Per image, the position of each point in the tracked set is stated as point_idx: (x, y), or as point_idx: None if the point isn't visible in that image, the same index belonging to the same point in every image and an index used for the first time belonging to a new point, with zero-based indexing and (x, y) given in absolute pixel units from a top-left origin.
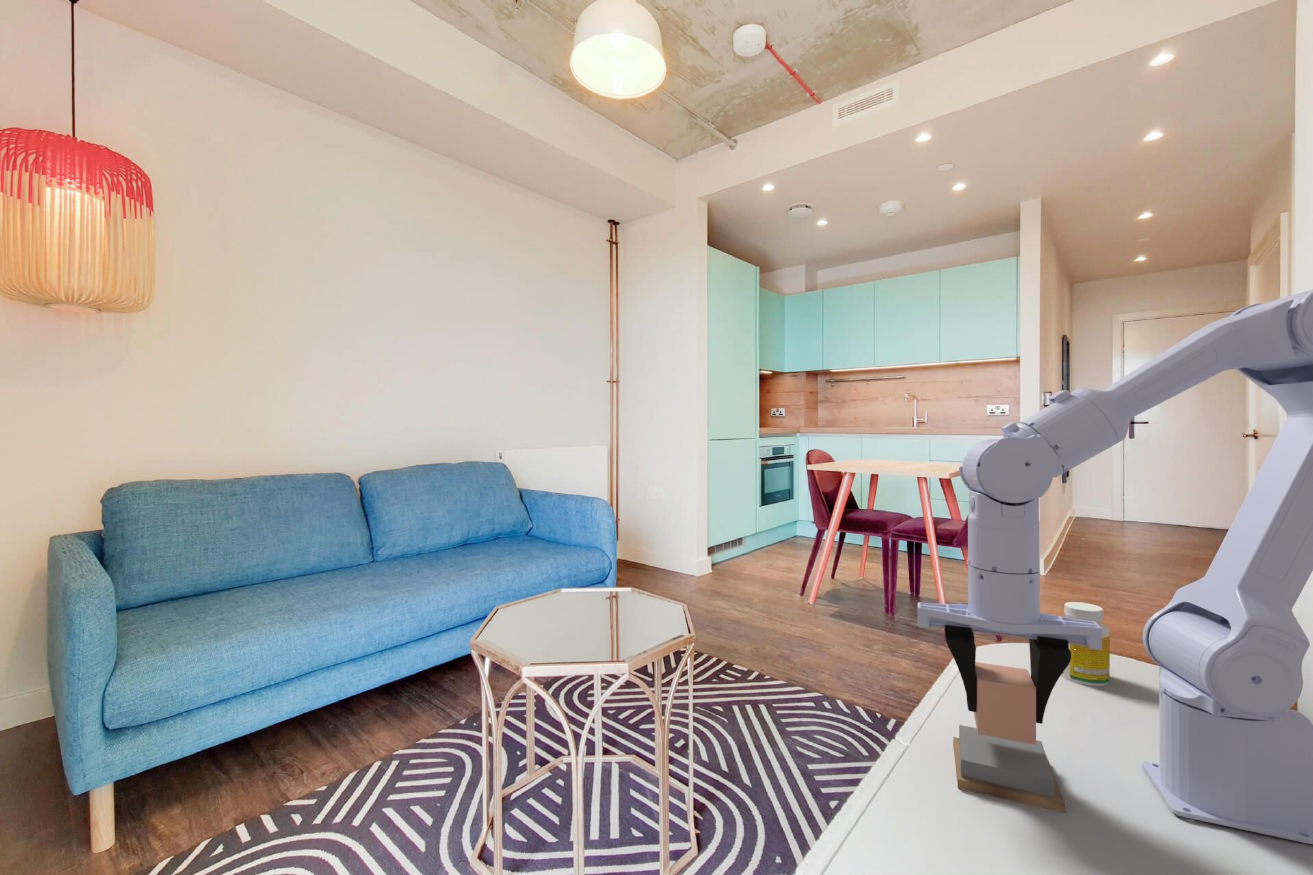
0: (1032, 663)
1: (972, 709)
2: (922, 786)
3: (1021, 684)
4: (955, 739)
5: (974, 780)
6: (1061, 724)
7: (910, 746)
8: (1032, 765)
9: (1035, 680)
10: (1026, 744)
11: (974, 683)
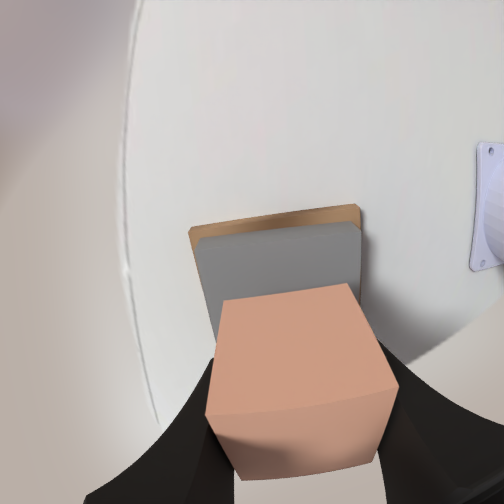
0: (405, 453)
1: None
2: (185, 365)
3: (344, 463)
4: (194, 242)
5: None
6: (382, 21)
7: (133, 277)
8: None
9: (385, 449)
10: (331, 263)
11: None
